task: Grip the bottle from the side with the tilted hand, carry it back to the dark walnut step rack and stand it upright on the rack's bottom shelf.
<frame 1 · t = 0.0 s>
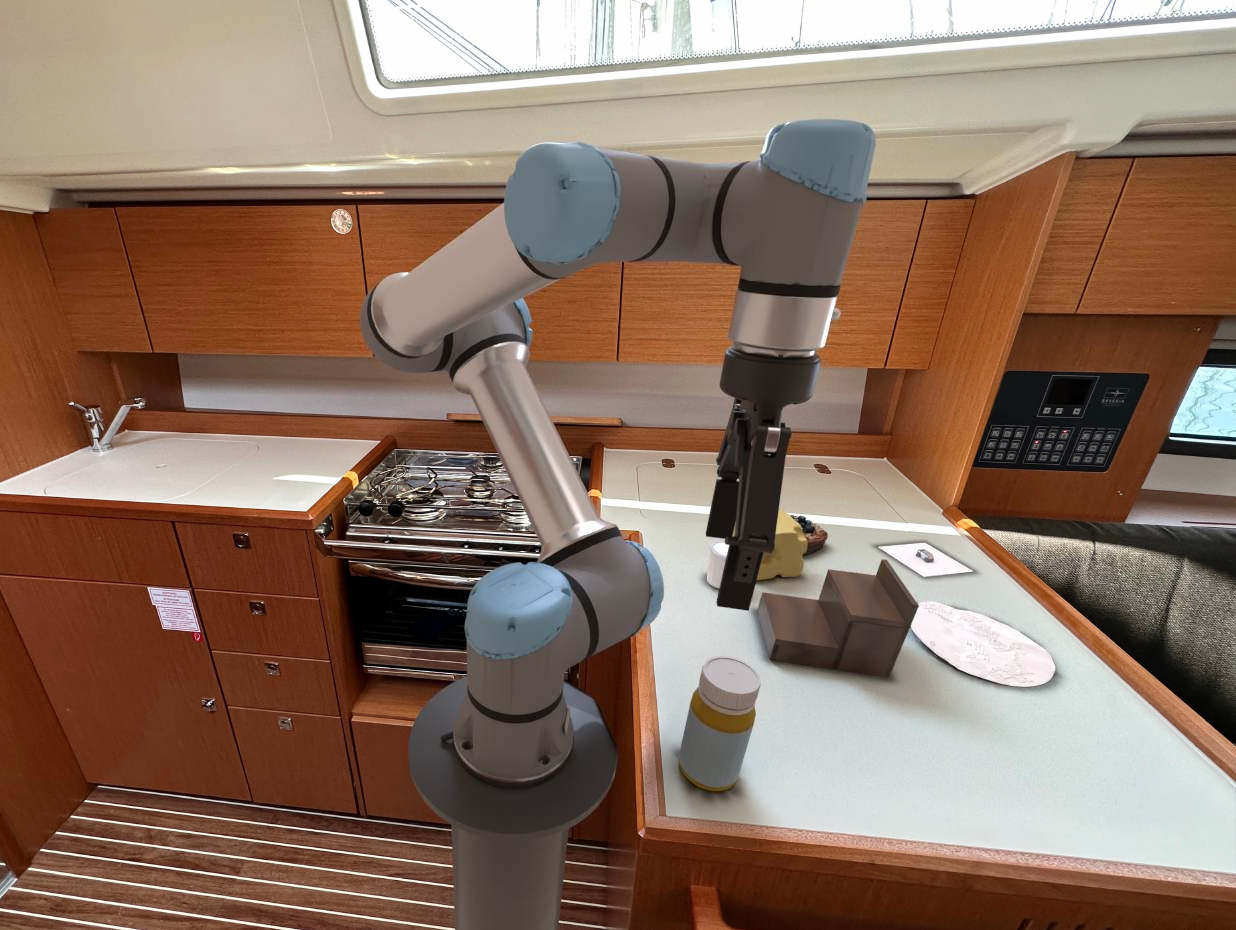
hand: (724, 568, 58), 28 cm above the worktop, tool pointing down, fingers open, 13 cm apart
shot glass: (722, 582, 109), on the worktop
cheese: (760, 566, 115), on the worktop
bottle: (706, 770, 71), on the worktop
step rack: (821, 642, 94), on the worktop
plaque: (974, 644, 95), on the worktop
white paper sheet: (923, 559, 120), on the worktop
pastry: (790, 543, 124), on the worktop
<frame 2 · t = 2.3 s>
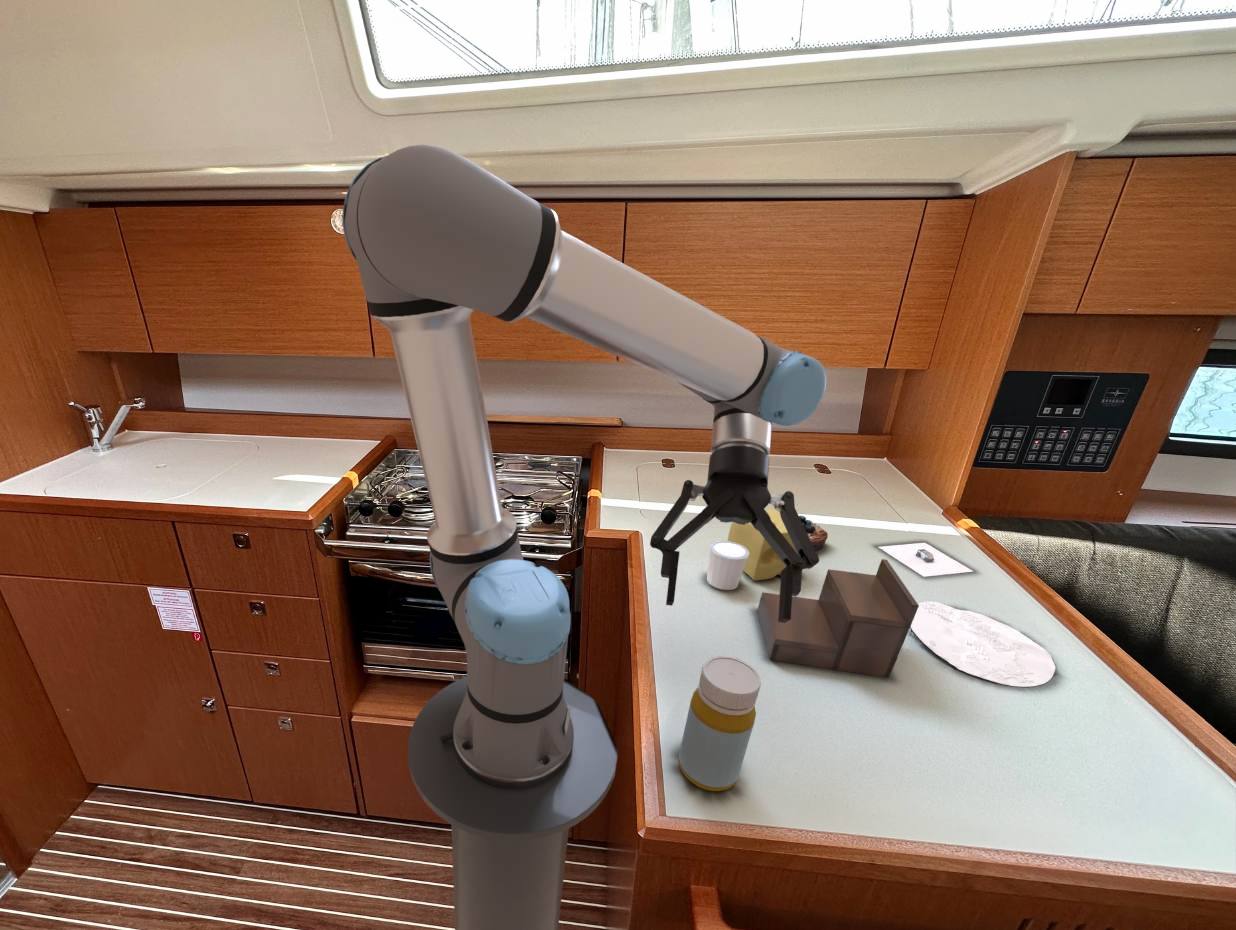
hand: (726, 612, 72), 16 cm above the worktop, tool tilted 45°, fingers open, 13 cm apart
nothing on the worktop moved.
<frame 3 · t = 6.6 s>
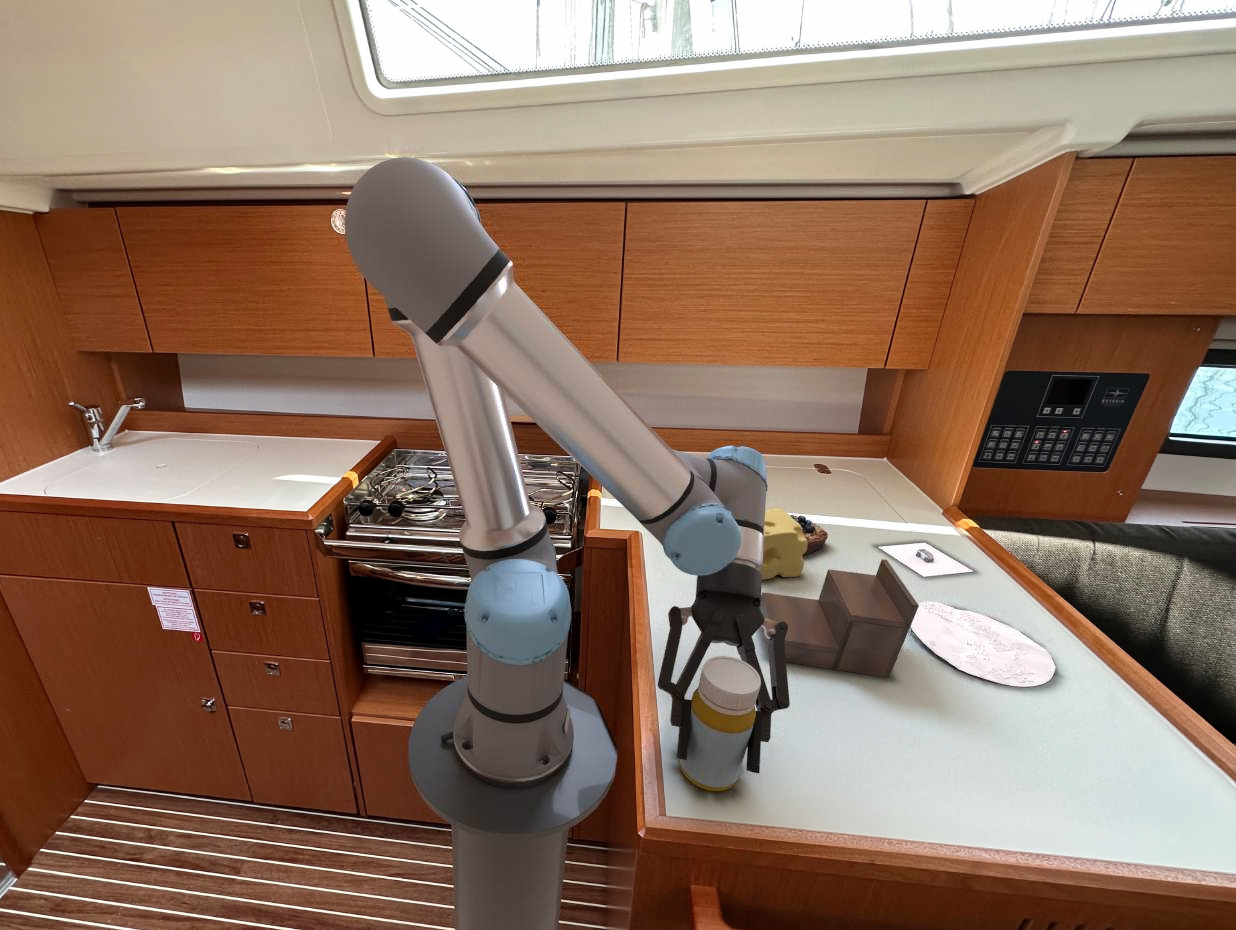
hand: (716, 765, 65), 5 cm above the worktop, tool tilted 45°, fingers closed on bottle, 7 cm apart
bottle: (706, 770, 71), on the worktop, touching gripper
everything else where it was.
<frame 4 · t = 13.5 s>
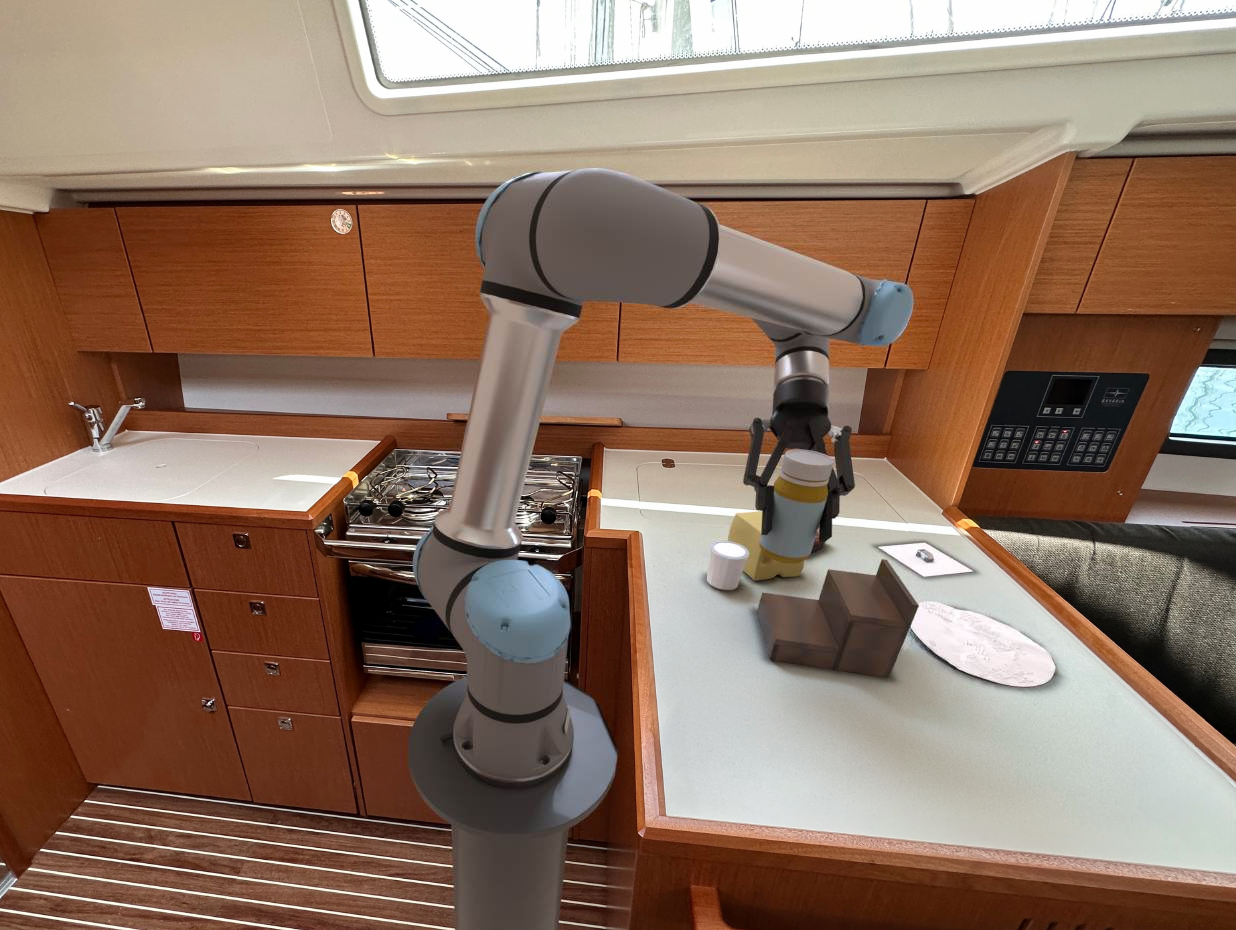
hand: (795, 535, 81), 21 cm above the worktop, tool tilted 45°, fingers closed on bottle, 7 cm apart
bottle: (782, 554, 86), point 16 cm above the worktop, touching gripper
everything else where it was.
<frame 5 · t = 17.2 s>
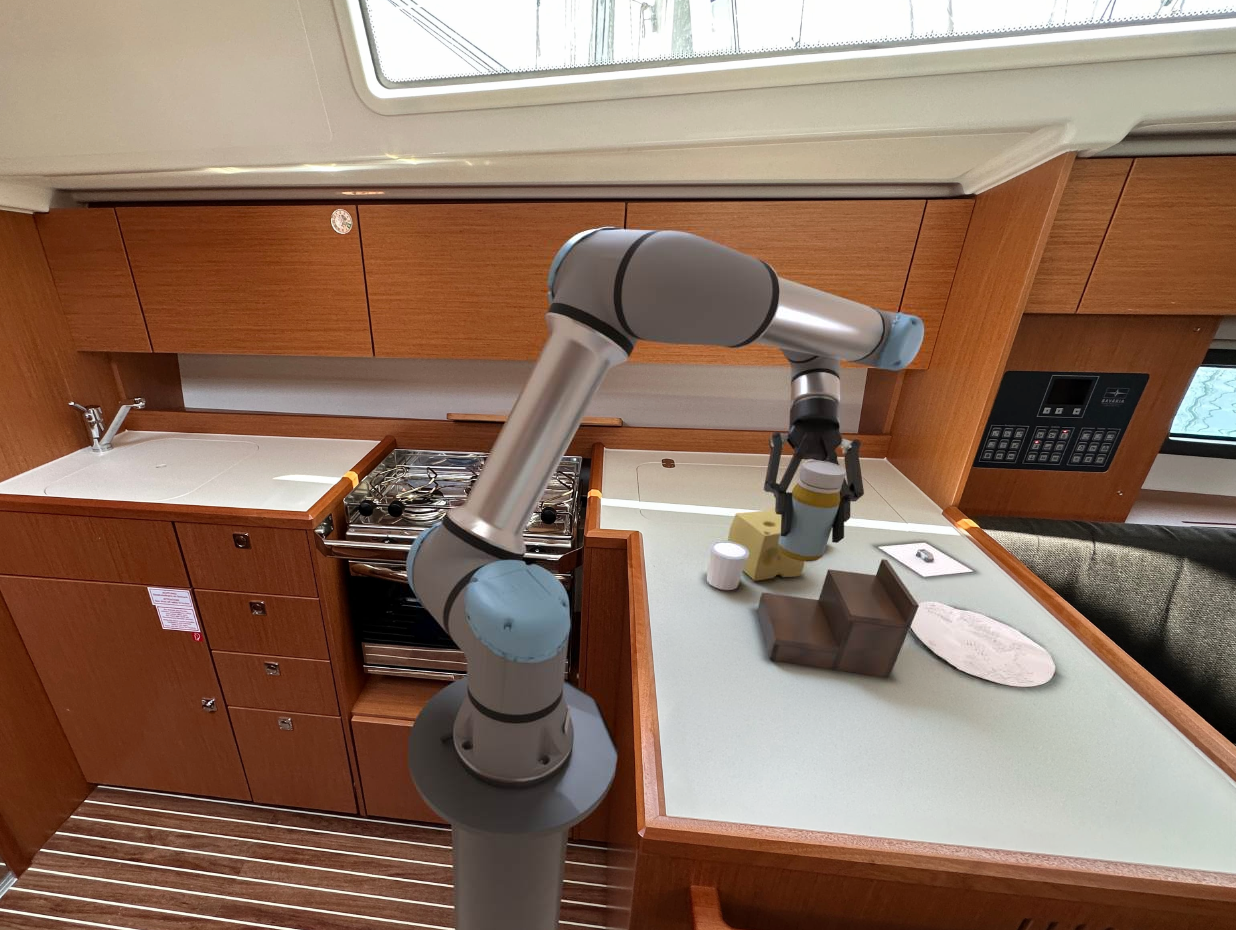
hand: (811, 536, 91), 16 cm above the worktop, tool tilted 45°, fingers closed on bottle, 7 cm apart
bottle: (799, 553, 96), point 11 cm above the worktop, touching gripper
everything else where it was.
when the fingers open (9 cm above the worktop, at t = 20.7 s): bottle stays where it is, resting on step rack.
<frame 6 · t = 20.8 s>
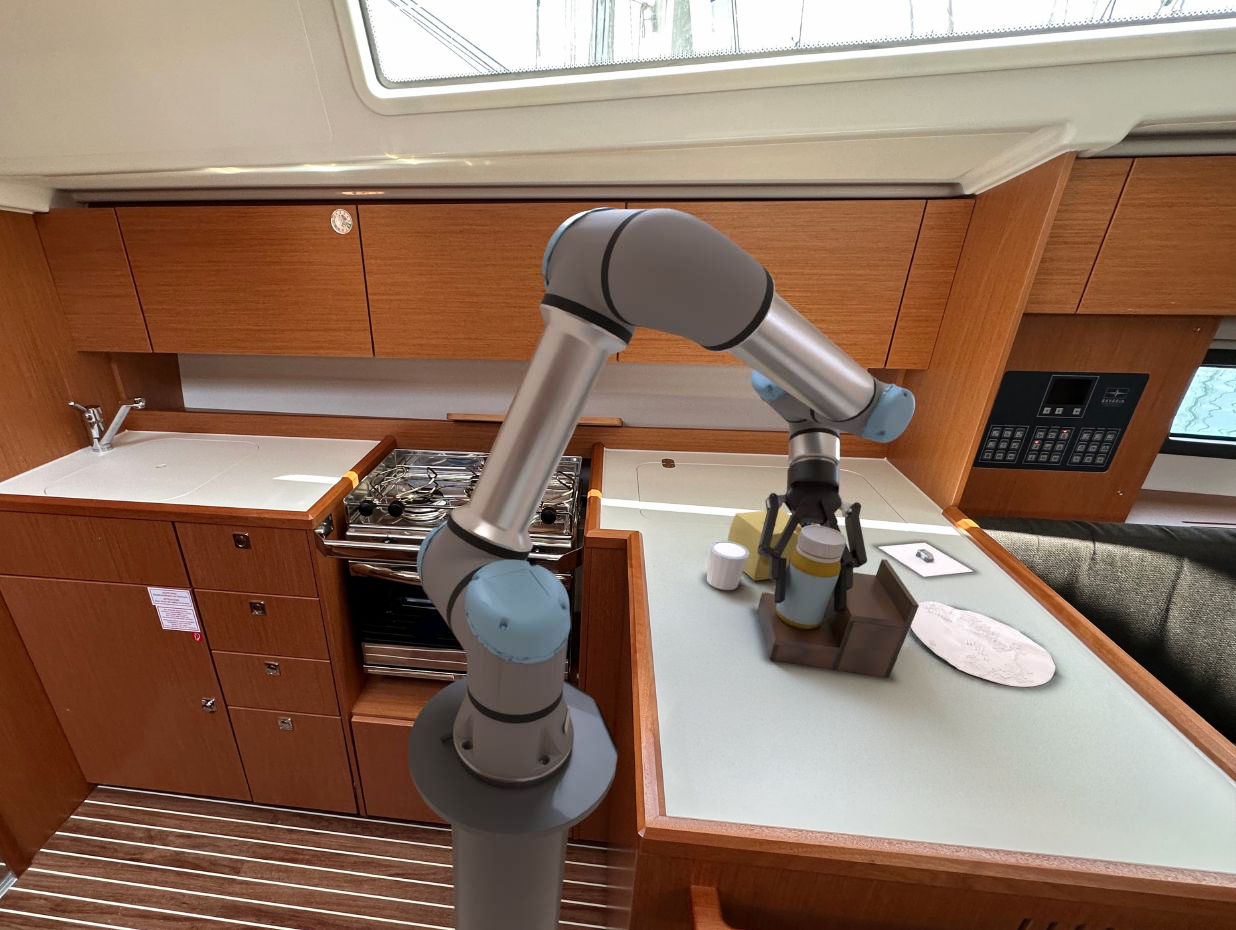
hand: (809, 605, 87), 9 cm above the worktop, tool tilted 45°, fingers open, 8 cm apart
bottle: (797, 619, 93), point 4 cm above the worktop, touching step rack
everything else where it was.
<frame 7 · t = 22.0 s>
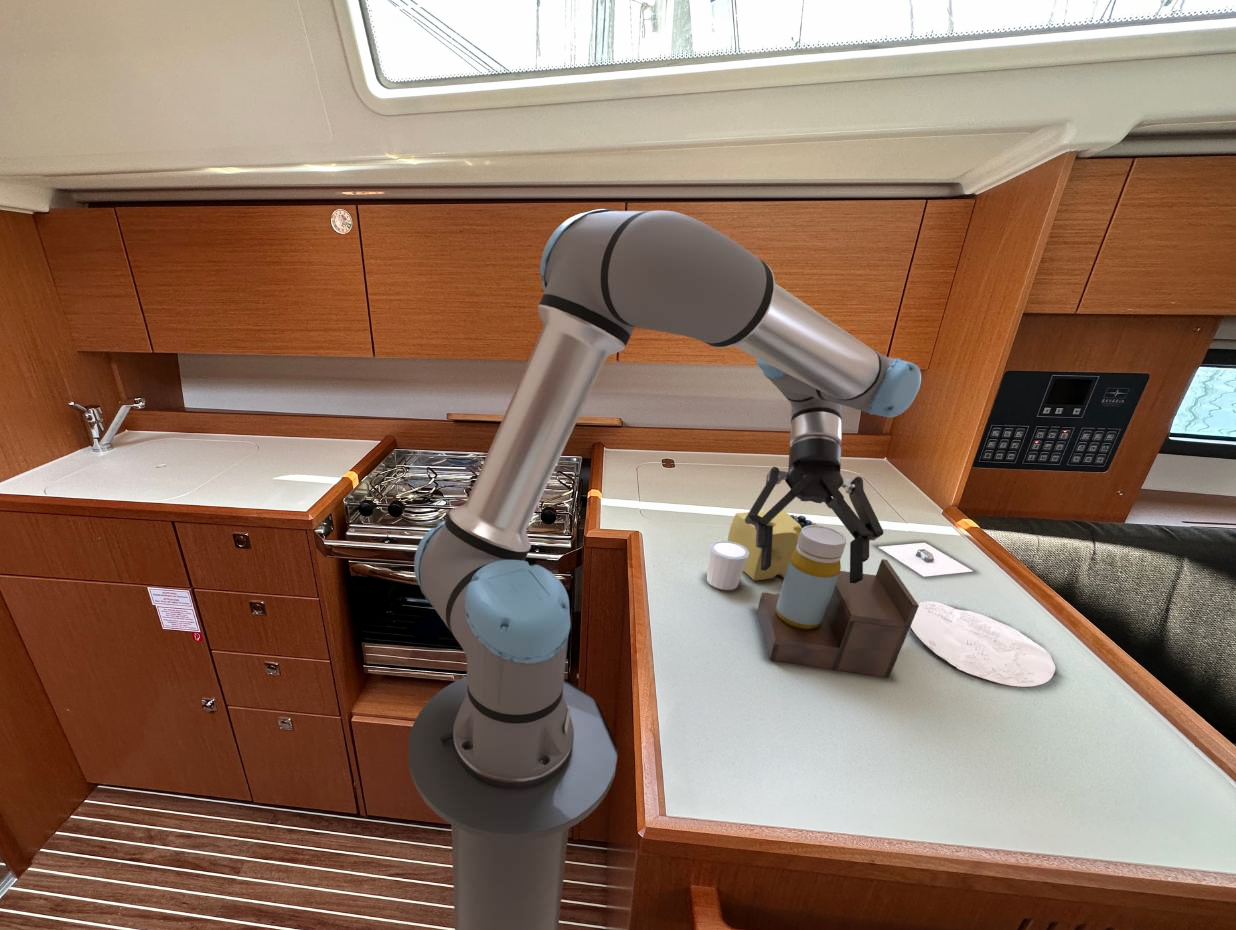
hand: (810, 574, 88), 13 cm above the worktop, tool tilted 45°, fingers open, 12 cm apart
nothing on the worktop moved.
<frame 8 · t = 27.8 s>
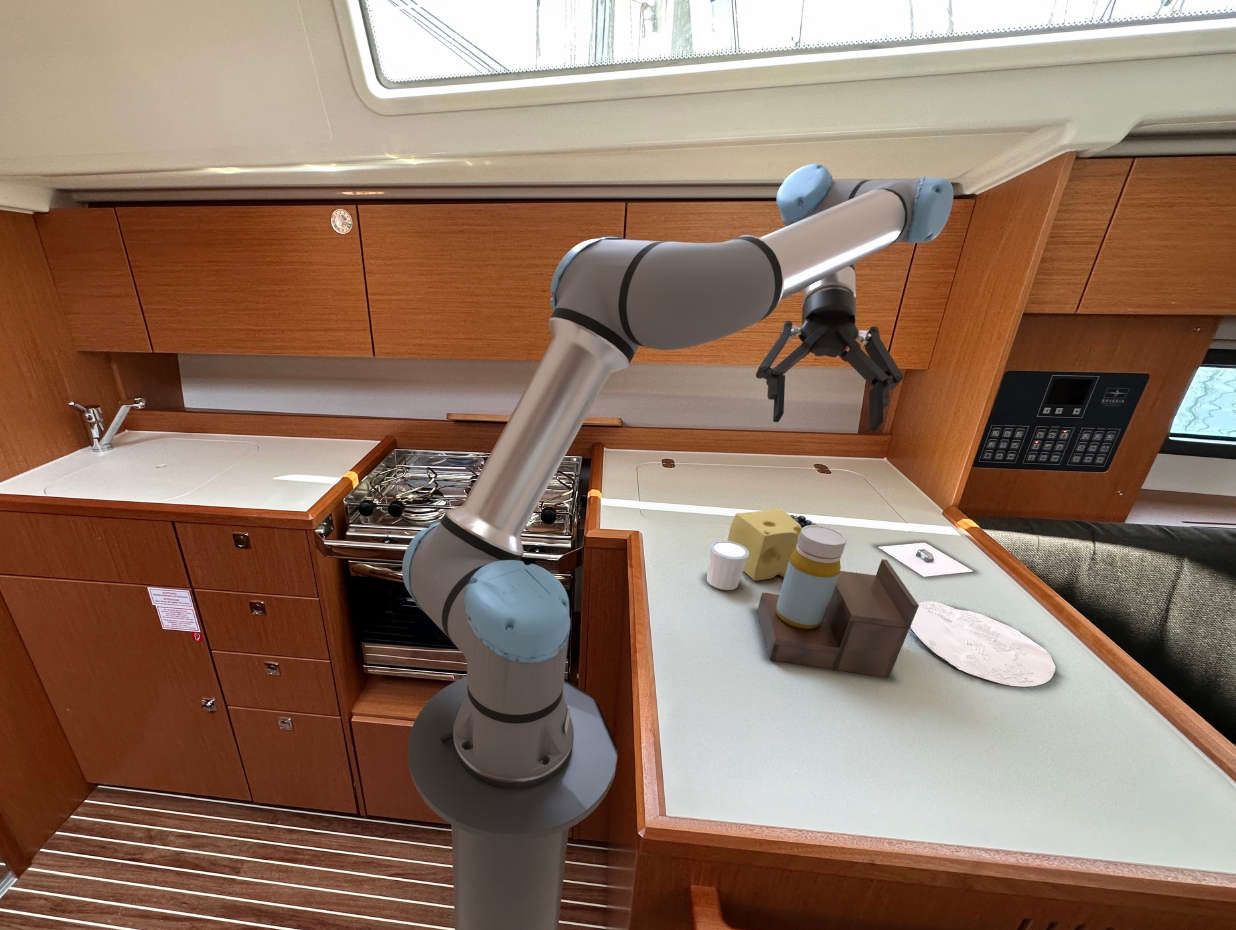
hand: (826, 422, 86), 34 cm above the worktop, tool tilted 45°, fingers open, 13 cm apart
nothing on the worktop moved.
at the end: bottle inside the target area on the step rack (0.1 cm from its centre), point 3.8 cm above the step rack's base; bottle tilted 0°; the gripper is holding nothing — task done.
